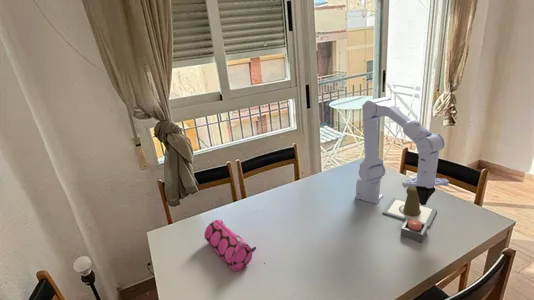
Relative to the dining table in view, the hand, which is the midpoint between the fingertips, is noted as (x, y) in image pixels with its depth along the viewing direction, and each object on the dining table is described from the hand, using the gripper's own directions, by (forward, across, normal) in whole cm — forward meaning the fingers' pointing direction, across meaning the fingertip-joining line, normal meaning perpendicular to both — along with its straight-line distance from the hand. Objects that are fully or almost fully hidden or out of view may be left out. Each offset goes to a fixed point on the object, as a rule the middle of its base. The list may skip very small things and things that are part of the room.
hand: (422, 203), depth 109 cm
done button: (+8, -3, -4) cm, 9 cm away
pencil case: (+11, -69, -11) cm, 71 cm away
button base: (+10, -3, -4) cm, 11 cm away
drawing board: (+10, 0, +10) cm, 14 cm away
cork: (+10, 0, +9) cm, 13 cm away
